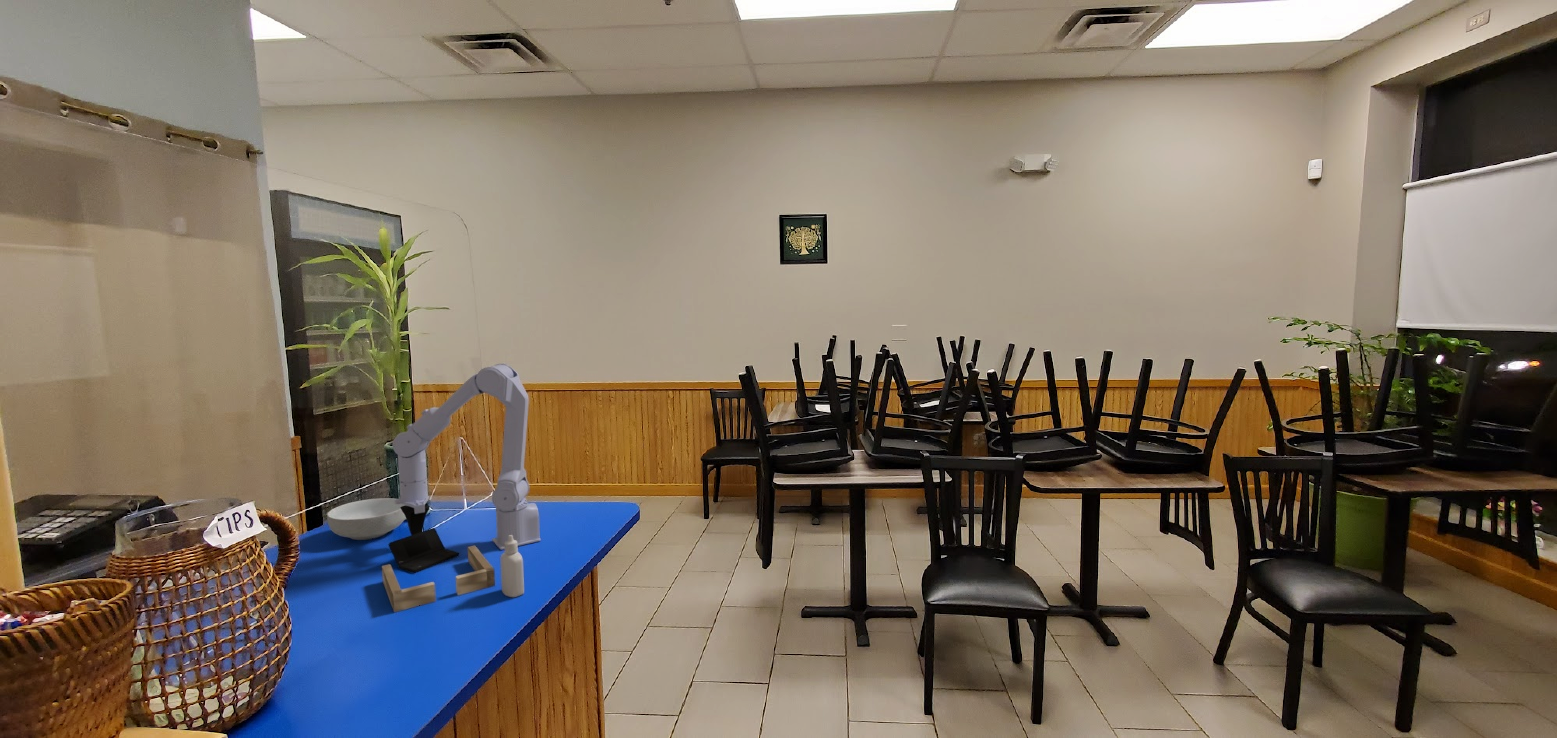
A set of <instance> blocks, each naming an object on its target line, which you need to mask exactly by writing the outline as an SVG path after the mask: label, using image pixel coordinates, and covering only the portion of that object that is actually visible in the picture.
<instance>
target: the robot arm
mask: <svg viewBox="0 0 1557 738" xmlns="http://www.w3.org/2000/svg"><path fill="white" fill-rule="evenodd" d="M482 394H487V395H489V396H491V397H494V398H495V399H497V400H498V401H499V402H500V403H502V404H503V405H504V407H505V413H504V427H503V428H504V429H503V440H502V454H501V455H502V456H501V470H500V473H499V475H498V479H497V481H496V482H497V483H496V487H495V490H493V493H492V495H491V502H492V503H493V506H494V507H495V517H496V518H495V522H496V536H497V537H493V538H491V541H492V542H493V543H494V544H495V545H496V546H497V547H498V549H499V550H501V551H502V550H505V545H504V543H505V542H506V541H508V538H509V535H513V539H514V540H516V541H517V543H518V547H519V546H523V545H528V544H532V543H537V542H540V541H541V540H542V539H541V537H540V514H539V509H538V506H537V504H536V503H535V502H528V500H527V498H526V497H527V495H528V494H529V492H530V483H529V481H528V479H527V470H526V468H525V458H526V446H527V445H526V444H527V431H528V417H529V415H528V414H529V405H530V404H529V403H530V400H529V399H530V397H529V395H528V393H527V391H526V389H525V386H524V385H523V383H522V381H521V379H520V374H519V372H517V371H516V370H515V369H514V368H513V367H511V365H508V364H507V363H497V364H494V365H492V366H487V367H483V368H482V369H480V370H479V371H478V373H475V374H474V375H472V376H471V377H469V378H468V379H467V380H466V381H465V382H464V383H462V385H460V387H459V388H458V389H456V390H455V392H453V394H451V395H450V396H449V397H448V399H446V401H445V402H444V403H443V404H441V406H439V407H435V406H434V407H433V406H432V407H429V409H428V408H426V409H424V410H423V411H421V412H420V414H421V416H420V417H419V418H418V419H417V420H415V422H413V423H410V424H408V425H407V426H406V429H407V431H403V432H402V431H401V432H400V433H398V434H397V435H396V436H395V438H394V439H393V441H392V449H393V451H394V453H395V454H396V455H397V463H398V465H397V466H398V482H399V498H395V499H396V500H395V504H403V505H406V506H402V507H400V508H401V510H402V512H403V513H404V514H405V520H406V522H407V526H408V529H409V533H410V536H411V535H414V534H417V533H420V532H423V531H424V525H425V520H426V517H427V515H428V511H429V510H430V506H429V504H428V502H429V500H430V496H429V492H428V491H429V488H428V477H427V476H428V474H427V471H428V469H427V458H426V457H427V454H426V449H428V447H429V446H430V443H431V442H432V441H433V440H434V439H435V438H437V437H438V436H439V435H440V434H441V433H442V432H443V431H444V430H445V429H447V428H448V427H449V426H450V425H451V421H452V419H451V418H452V415H454V414H455V413H456V412H458V410H460V409H462V407H463V406H465V405H466V404H467V403H468V402H469V401H471V399H473V398H474V397H475V396H477V395H482Z"/></svg>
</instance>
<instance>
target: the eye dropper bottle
mask: <svg viewBox="0 0 1557 738" xmlns="http://www.w3.org/2000/svg"><path fill="white" fill-rule="evenodd" d="M504 545H505V549H504V552H503V553H501V555H500V577H501V579H500V582H501V584H500V585H501V592H502V593H503V595H505V596H506V597H509V598H516V597H520V596H522V595H524V594H525V581H524V577H525V576H524V559H523V556H522V554H521V553H520V552H519V549H518V547H519V546H518V543H517V541H516V540H514V539H513V535H509V538H508V541H506V542H505V543H504Z"/></svg>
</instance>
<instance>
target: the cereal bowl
mask: <svg viewBox="0 0 1557 738" xmlns="http://www.w3.org/2000/svg"><path fill="white" fill-rule="evenodd" d="M396 499H397V498H393V497H392V498H389V497H386V498H385V497H383V498H381V497H379V498H369V499H362V500H356V501H352V502H348V503H345V504H341V505H339V506H336V507H335V508H332V509H330V510H329V511H328V512H327V515H326V519H327V525H328V528H329V529H330V530H331V531H332V532H333V533H334V534H336V535H337V536H339V537H344V538H350V539H351V540H355V541H366V540H372V538H373V539H376V538H379V537H383V536H385V535H386V534H387V533H388V532H391V531H393V530H395V529H396V528H398V527H400V526H401V524H402V523H403V522H404V521H405V520H406V517H405V514H404V513H403V512H402V510H401V508H400V507H402V506H406V505H403V504H395V500H396Z"/></svg>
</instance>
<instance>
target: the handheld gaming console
mask: <svg viewBox="0 0 1557 738" xmlns="http://www.w3.org/2000/svg"><path fill="white" fill-rule="evenodd" d="M388 548H389V550H390V551H391V554H392V556H393V558H394V560H395V562H396V564H397V569H398V570H403V571H405V572H409V573H411V574H418V573H420V572H422V571H425V570H427V569H430V568H432V567H435V566H437V565H440V564H442V563H445V562H448V561H450V560H453V559H454V558H457V556H458V557H460V552H457V551H455V550H451V549H446V547H445V546H444V544H443V541H442V540H441V537H440V536H439V534H438V532H437V530H436V528H434V527H432V528H429V529H426V530H423V531H422V532H420V533H417V534H414V535H411V534H410V535H409V536H405V537H401V538H399V539H396V540H393V541H390V542H389V543H388Z"/></svg>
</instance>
